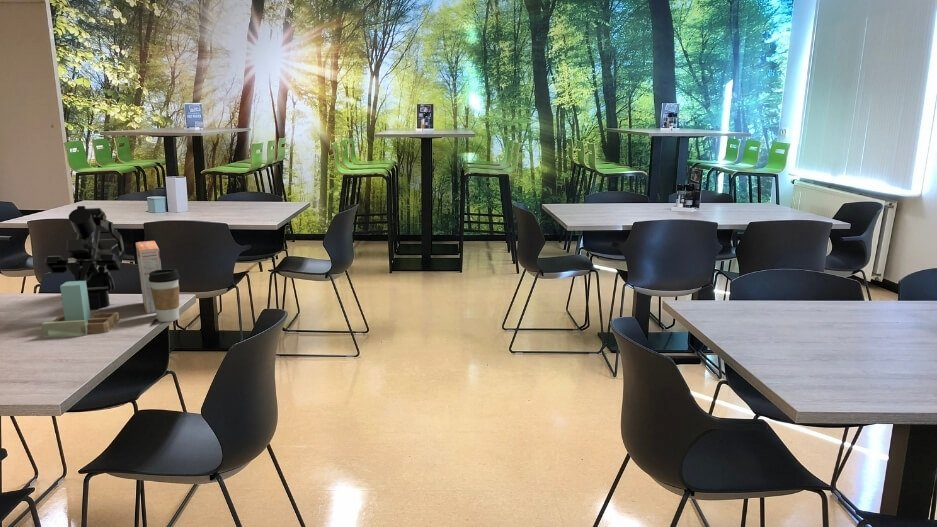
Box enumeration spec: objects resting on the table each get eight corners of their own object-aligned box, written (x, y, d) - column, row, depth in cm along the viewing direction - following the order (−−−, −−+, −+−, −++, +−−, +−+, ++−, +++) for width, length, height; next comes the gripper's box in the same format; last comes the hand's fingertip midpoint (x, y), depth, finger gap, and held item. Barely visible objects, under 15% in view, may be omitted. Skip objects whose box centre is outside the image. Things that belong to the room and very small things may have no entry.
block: (72, 321, 189) (66, 281, 186) (91, 320, 190) (85, 280, 187) (65, 326, 184) (60, 286, 182) (85, 325, 185) (79, 285, 183)
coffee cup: (168, 324, 191) (163, 274, 187) (146, 321, 194) (140, 272, 190) (189, 316, 198) (185, 268, 195) (168, 313, 201) (163, 266, 198)
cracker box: (142, 305, 210) (134, 241, 205) (162, 302, 213) (155, 240, 208) (145, 316, 198) (137, 249, 193) (166, 314, 201) (159, 247, 196)
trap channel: (63, 325, 190) (61, 308, 189) (121, 321, 193) (119, 305, 192) (44, 341, 176) (41, 323, 175) (106, 337, 180) (104, 320, 178)
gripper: (42, 229, 188) (31, 275, 180) (112, 226, 192) (105, 271, 184) (56, 250, 197) (47, 295, 189) (123, 247, 201) (117, 291, 193)
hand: (79, 287), depth 189 cm, fingers closed
